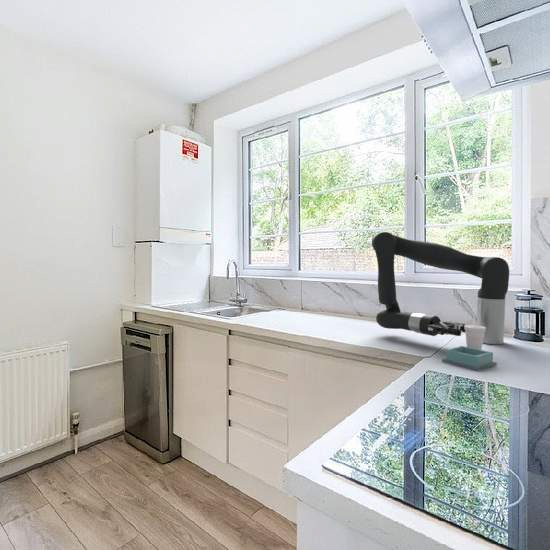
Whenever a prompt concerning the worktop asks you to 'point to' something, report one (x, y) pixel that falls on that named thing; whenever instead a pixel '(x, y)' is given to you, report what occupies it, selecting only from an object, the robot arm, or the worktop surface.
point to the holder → (469, 358)
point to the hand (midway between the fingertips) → (467, 331)
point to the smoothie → (474, 335)
